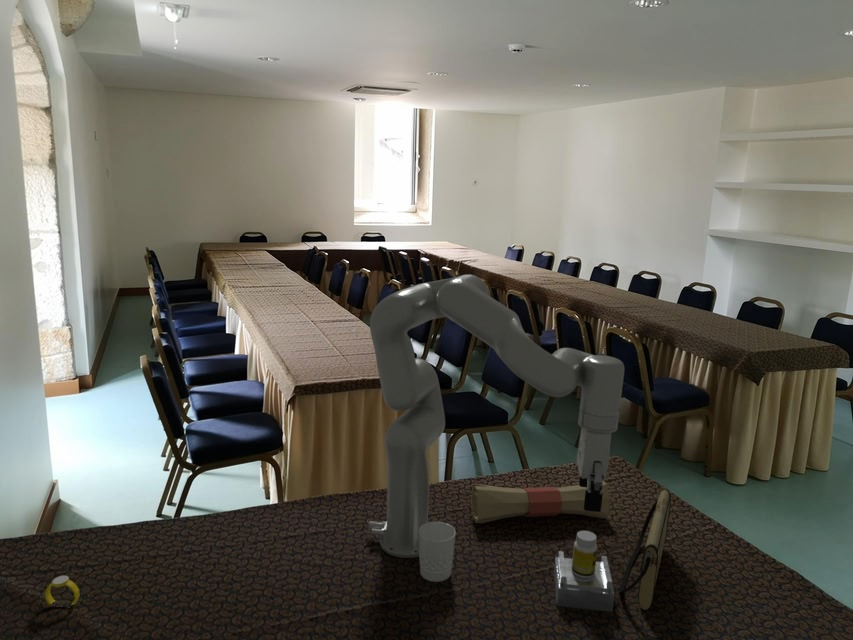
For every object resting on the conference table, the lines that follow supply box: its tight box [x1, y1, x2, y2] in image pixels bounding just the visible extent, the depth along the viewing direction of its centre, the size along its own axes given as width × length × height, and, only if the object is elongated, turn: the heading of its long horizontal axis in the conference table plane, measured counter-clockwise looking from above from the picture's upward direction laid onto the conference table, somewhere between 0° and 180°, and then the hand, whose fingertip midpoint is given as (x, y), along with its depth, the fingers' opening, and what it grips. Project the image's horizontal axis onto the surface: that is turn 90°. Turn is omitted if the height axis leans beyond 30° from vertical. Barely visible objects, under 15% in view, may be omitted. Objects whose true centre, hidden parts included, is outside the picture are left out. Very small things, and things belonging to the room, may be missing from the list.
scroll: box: [469, 480, 611, 524], centre depth 164 cm, size 11×34×10 cm, turn 98°
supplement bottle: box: [571, 530, 598, 578], centre depth 134 cm, size 5×5×8 cm
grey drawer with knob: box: [553, 550, 615, 613], centre depth 137 cm, size 11×14×6 cm
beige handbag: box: [618, 488, 672, 611], centre depth 141 cm, size 30×7×15 cm, turn 155°
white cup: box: [418, 521, 457, 583], centre depth 140 cm, size 8×8×10 cm
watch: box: [44, 575, 81, 606], centre depth 126 cm, size 6×3×6 cm, turn 91°
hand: (589, 498), depth 131 cm, fingers open, 9 cm apart
